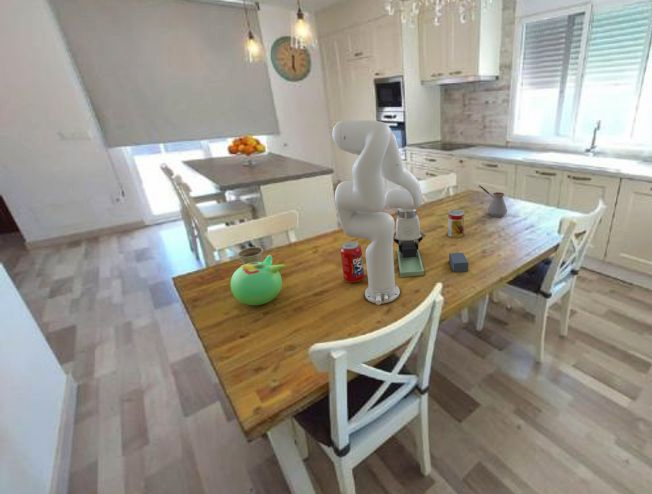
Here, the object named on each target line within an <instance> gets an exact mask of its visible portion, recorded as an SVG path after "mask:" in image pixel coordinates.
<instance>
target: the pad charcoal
mask: <svg viewBox="0 0 652 494" xmlns="http://www.w3.org/2000/svg"><path fill="white" fill-rule="evenodd" d="M401 243H402V257H403V258H408V257H416V246H415V240H402V242H401Z"/></svg>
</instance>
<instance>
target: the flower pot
mask: <svg viewBox="0 0 652 494" xmlns="http://www.w3.org/2000/svg"><path fill="white" fill-rule="evenodd" d="M263 252H264V248H263V247H261V246H252V247H251V246H250V247H245V248H243V249H241V250H240V251H238V253H237V257H238V258H239V259H240V260H241V262H242V265H245V264H248V263H252V262H263Z"/></svg>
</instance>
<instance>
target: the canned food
mask: <svg viewBox="0 0 652 494" xmlns="http://www.w3.org/2000/svg"><path fill="white" fill-rule="evenodd" d="M464 227H465V212H464V211H463V210H458V209H454V210H453V209H452V210H449V211H448V216H447V235H448V237H449V238H455V239H457V238H459V239H460V238H463V236H464V229H465V228H464Z"/></svg>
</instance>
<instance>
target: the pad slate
mask: <svg viewBox="0 0 652 494" xmlns="http://www.w3.org/2000/svg"><path fill="white" fill-rule="evenodd" d="M448 255H449V256H448V262H449V264H450V267H451V269H452V271H453V273H458V272H460V273H461V272H468V271H469V261H468V259H467V257H466V255H465V253H464V252H463V251H461V252H450V253H449V254H448Z"/></svg>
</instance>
